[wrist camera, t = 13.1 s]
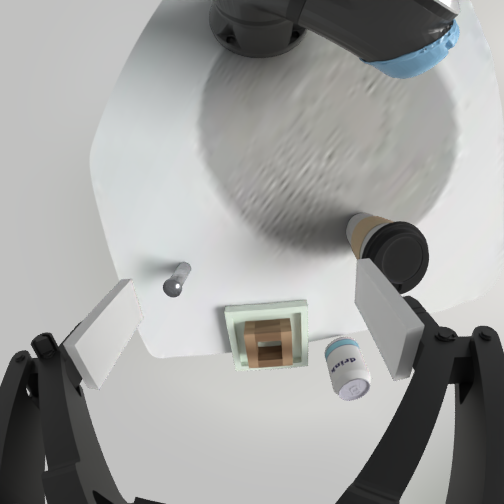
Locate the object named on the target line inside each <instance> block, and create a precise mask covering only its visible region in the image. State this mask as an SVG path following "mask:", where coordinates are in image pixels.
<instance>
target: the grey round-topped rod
mask: <svg viewBox="0 0 504 504" xmlns="http://www.w3.org/2000/svg"><path fill="white" fill-rule="evenodd" d="M190 271H191V266H190V265H189V264H188V263H186V262H182V263H180V264H179V266H178V267H177V269H176V270H175V272H174V273H173V275H172V276H171V278H170V279H168V280H166V281H165V283H164V285H163V290H164V292H165V293H166V294H167V295H168V296H170V297H177V296H179V295H180V293H181V291H182V285H183V284H184V282H185V280H186V278H187V276H188V275H189V273H190Z"/></svg>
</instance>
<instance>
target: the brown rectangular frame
mask: <svg viewBox="0 0 504 504" xmlns="http://www.w3.org/2000/svg"><path fill="white" fill-rule="evenodd" d="M244 340H245V346H246V353H247V359H248V365H249V368H264V367H278V366H290V365H293V354H292V330H291V323H290V318H284V319H272V320H258V321H245V327H244ZM268 341H281V345H279V346H266V347H258V342H268Z"/></svg>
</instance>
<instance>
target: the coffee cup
mask: <svg viewBox="0 0 504 504" xmlns="http://www.w3.org/2000/svg"><path fill="white" fill-rule="evenodd" d="M346 235H347V239H348V241H349V243H350V245H351V247H352V251H353V253H354V255H355V257H356V259H357V260H358V259H367V258H370V260H371V261H372V262H373V263H374V264H375V265H376V266H377V268H378V269H379V270H380V271H381V272H382V273H383V275H384V276H385V277H386V278H387V279H388V280H389V282H390V283H391V284H392V285H393V286H394V288H395V289H396V290H397V291H398V293H399V294H403V293H406V292H408V291H410V290H411V289H413V288H414V287H415V286H416V285H417V284H418V283H419V282H420V281H421V280H422V278H423V277H424V275H425V273H426V270H427V267H428V263H429V252H428V245H427V242H426V239H425V237H424V235H423V234H422V233H421V232H420V230H419V229H418V228H417V227H415V226H414V225H412V224H410V223H407V222H401V221H399V222H393V221H390V220H388V219H385V218H382V217H378V216H374V215H371V214H367V213H359V214H356V215H354V216H353V217H352V218H351V219H350V221H349V222H348V225H347V228H346Z"/></svg>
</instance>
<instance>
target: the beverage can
mask: <svg viewBox="0 0 504 504" xmlns="http://www.w3.org/2000/svg"><path fill="white" fill-rule="evenodd" d="M325 358H326V362H327V366H328V369H329V374H330V378H331V382H332V386H333V389H334V392H335V393H336V394H338V395H339V397H340V398H341V399H343V400H347V401H348V400H349V401H350V400H355V399H358V398H360V397H362V396H364V395H365V394H366V393H367V392H368V390H369V388H370V381H371V375H370V372H369V370H368V367H367V365H366V363H365V360H364V358H363V355H362V353H361V350H360V348H359V346H358V343H357V342H356V340H354V339H353V338H350V337H341V338H338V339H336V340H334V341H332V342H331V343H330V344H329V345H328V346H327V348H326V350H325Z"/></svg>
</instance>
